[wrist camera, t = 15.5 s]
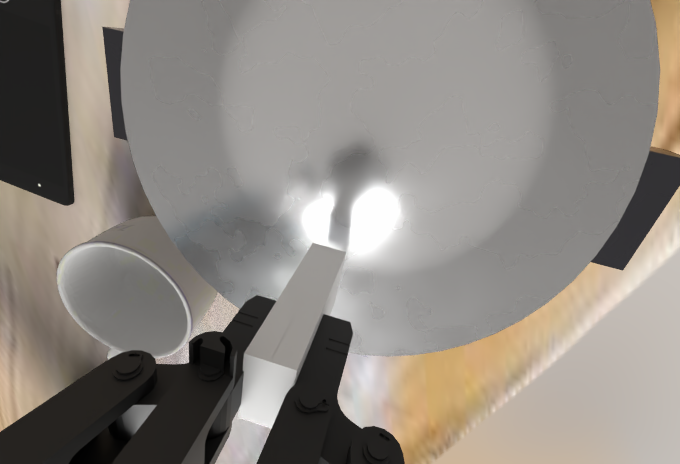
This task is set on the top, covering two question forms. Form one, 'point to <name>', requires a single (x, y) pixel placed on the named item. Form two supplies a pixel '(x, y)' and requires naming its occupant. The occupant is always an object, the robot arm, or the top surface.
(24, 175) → the cell phone
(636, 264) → the top surface
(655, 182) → the cooker
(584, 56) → the lid
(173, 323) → the teacup
